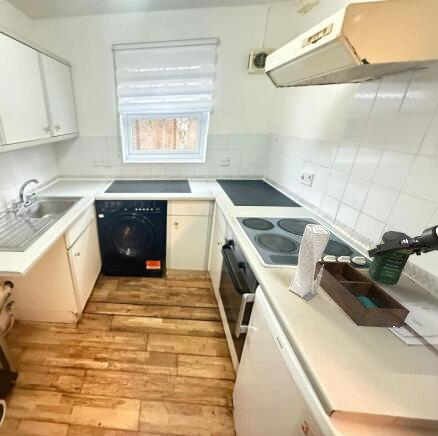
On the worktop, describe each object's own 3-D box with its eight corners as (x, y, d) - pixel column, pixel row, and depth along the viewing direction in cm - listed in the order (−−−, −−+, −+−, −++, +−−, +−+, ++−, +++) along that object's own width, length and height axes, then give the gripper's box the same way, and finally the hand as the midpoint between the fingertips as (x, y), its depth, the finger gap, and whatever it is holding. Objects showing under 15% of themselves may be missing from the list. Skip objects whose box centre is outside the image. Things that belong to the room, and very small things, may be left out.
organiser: (341, 275, 97) (347, 261, 95) (400, 328, 73) (410, 311, 70) (310, 274, 98) (314, 260, 96) (357, 325, 74) (365, 309, 71)
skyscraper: (305, 302, 83) (329, 231, 72) (283, 289, 90) (301, 222, 79) (317, 294, 87) (341, 225, 76) (295, 282, 94) (314, 216, 83)
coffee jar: (399, 288, 85) (421, 242, 78) (370, 281, 89) (388, 237, 82) (392, 274, 92) (412, 232, 85) (365, 268, 96) (382, 227, 89)
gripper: (482, 224, 70) (408, 245, 91) (405, 223, 72) (350, 244, 92) (495, 248, 67) (416, 264, 88) (414, 247, 69) (355, 263, 90)
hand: (382, 254), depth 90 cm, fingers closed on coffee jar, 9 cm apart
